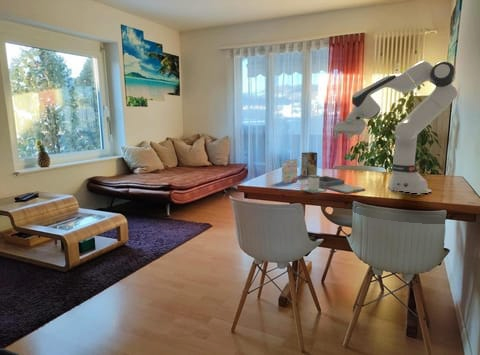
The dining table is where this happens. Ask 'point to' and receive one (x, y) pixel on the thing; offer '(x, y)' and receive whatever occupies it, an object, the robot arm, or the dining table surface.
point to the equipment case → (337, 185)
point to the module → (313, 182)
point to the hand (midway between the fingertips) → (341, 138)
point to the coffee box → (309, 164)
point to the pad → (312, 190)
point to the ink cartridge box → (289, 171)
